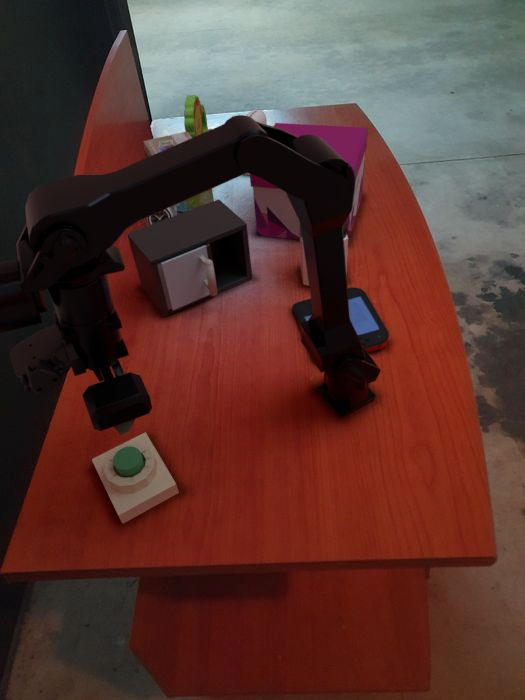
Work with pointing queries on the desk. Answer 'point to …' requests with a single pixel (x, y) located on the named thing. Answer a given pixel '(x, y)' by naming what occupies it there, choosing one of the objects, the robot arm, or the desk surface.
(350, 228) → the decorative box
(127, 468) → the button
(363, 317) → the game console
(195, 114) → the toy lion
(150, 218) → the watch
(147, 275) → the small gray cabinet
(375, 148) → the desk surface
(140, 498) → the button block
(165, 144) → the tea box
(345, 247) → the jar
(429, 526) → the desk surface
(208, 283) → the gray cabinet door
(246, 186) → the desk surface
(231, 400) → the desk surface
